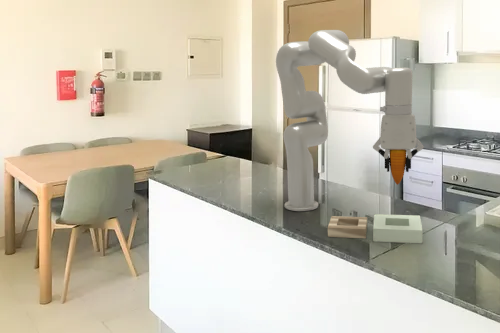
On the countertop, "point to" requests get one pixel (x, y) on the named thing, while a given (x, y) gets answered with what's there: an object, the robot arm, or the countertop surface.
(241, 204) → the countertop surface
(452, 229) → the countertop surface
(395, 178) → the carrot
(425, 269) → the countertop surface
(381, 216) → the pale green square frame
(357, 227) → the socket block
